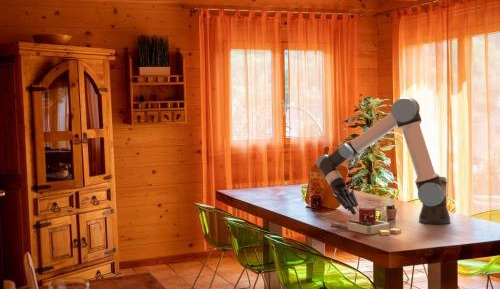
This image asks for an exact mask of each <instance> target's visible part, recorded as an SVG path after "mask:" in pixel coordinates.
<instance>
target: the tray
mask: <svg viewBox="0 0 500 289" xmlns="http://www.w3.org/2000/svg"><path fill="white" fill-rule="evenodd" d="M347 226H348V230H347V231H351V232H357V233H361V234H365V235H373V234H374V235H375V234H380V230H389V229H392V223H390V222H387V221H382V220H376V225H374V226H365V225H360V224H355V223H351V222H350V221H349V222H347Z"/></svg>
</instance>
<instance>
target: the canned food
mask: <svg viewBox="0 0 500 289" xmlns="http://www.w3.org/2000/svg"><path fill="white" fill-rule="evenodd" d="M376 209H377V208H376V206H374V205H361V206H359V207H358V210H359V224H360V225H365V226H374V225H376V219H377V218H376Z"/></svg>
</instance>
